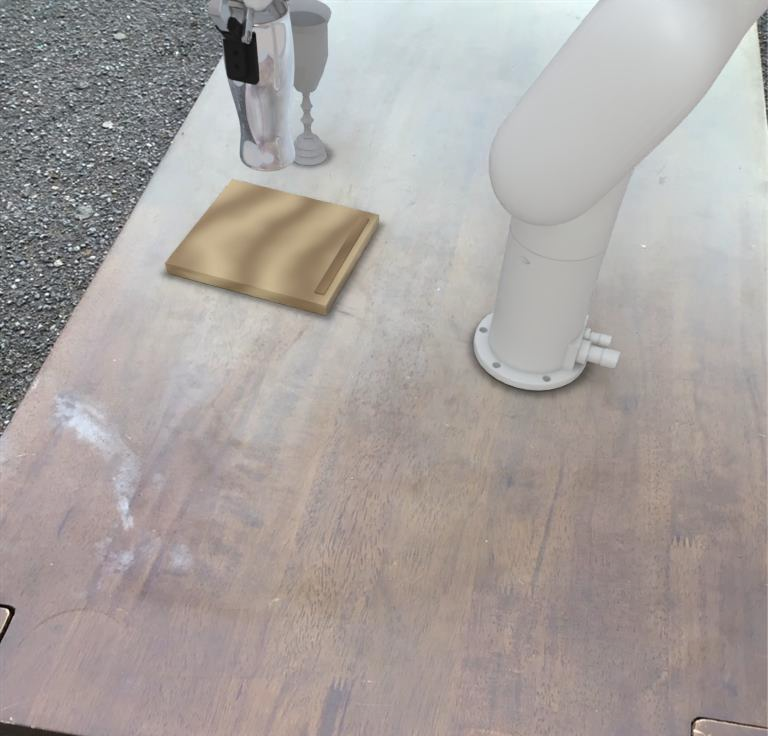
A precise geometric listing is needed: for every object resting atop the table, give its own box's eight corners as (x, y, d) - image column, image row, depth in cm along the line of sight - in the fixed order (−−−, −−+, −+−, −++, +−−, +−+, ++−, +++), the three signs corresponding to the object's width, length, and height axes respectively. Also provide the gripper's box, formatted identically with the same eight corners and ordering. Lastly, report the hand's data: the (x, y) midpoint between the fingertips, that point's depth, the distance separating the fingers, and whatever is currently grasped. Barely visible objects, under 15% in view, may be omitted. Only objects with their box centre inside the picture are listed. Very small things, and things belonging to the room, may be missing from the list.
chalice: (341, 164, 109) (340, 21, 95) (293, 174, 108) (284, 30, 93) (323, 136, 113) (319, -6, 98) (276, 144, 112) (265, 2, 97)
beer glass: (290, 178, 87) (280, 29, 74) (227, 169, 87) (207, 19, 75) (306, 143, 91) (300, -4, 78) (246, 134, 91) (230, -13, 79)
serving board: (379, 225, 102) (379, 212, 101) (326, 315, 92) (325, 303, 91) (233, 189, 105) (231, 176, 104) (167, 273, 95) (164, 261, 94)
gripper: (237, -118, 61) (258, 113, 75) (323, -187, 70) (327, 31, 85) (147, -134, 62) (185, 97, 77) (243, -200, 72) (261, 17, 86)
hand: (260, 60), depth 81 cm, fingers closed on beer glass, 7 cm apart
